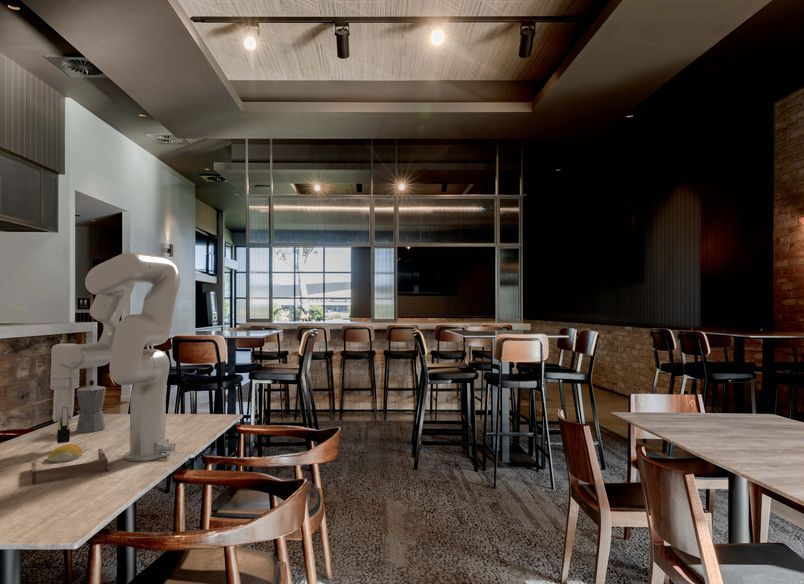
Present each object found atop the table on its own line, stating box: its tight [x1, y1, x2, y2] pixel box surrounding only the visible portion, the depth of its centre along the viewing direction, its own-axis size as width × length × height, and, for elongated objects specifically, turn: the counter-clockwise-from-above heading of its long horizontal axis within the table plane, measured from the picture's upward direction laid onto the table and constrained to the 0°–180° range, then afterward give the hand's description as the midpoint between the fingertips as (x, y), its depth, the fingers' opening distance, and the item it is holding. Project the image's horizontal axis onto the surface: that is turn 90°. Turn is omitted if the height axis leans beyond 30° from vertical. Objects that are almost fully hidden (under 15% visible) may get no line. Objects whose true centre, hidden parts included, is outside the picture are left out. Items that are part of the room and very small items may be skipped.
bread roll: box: [47, 443, 84, 463], centre depth 152 cm, size 8×9×4 cm
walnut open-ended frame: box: [31, 448, 109, 485], centre depth 139 cm, size 15×17×3 cm
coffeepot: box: [76, 379, 107, 434], centre depth 188 cm, size 15×9×18 cm, turn 44°
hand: (63, 442), depth 161 cm, fingers closed
